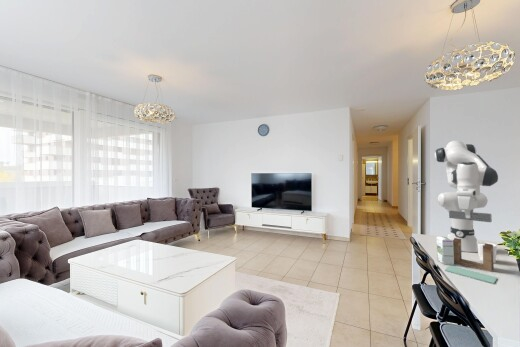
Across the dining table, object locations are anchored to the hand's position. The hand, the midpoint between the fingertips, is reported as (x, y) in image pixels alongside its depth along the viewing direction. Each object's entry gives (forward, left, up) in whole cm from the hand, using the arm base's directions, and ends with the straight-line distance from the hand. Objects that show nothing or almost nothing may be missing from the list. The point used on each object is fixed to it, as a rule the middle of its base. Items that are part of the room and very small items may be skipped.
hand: (469, 217), depth 115 cm
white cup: (-25, +3, -29) cm, 38 cm away
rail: (0, 0, -1) cm, 1 cm away
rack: (-11, -1, -29) cm, 30 cm away
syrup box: (-3, -11, -29) cm, 31 cm away
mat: (+5, +1, -29) cm, 29 cm away
